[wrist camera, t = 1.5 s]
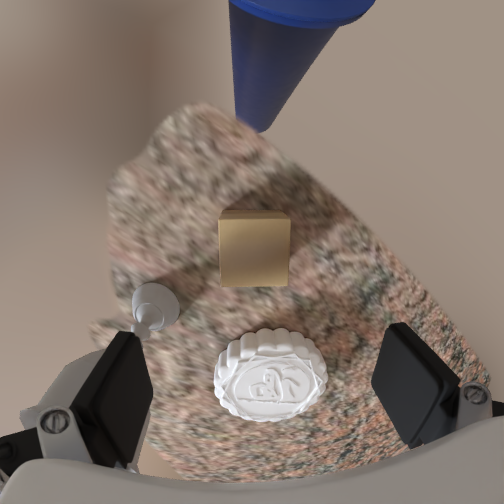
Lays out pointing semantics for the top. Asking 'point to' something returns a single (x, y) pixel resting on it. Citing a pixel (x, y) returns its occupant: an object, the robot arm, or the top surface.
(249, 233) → the block
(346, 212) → the top surface
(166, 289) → the chalice
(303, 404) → the mooncake
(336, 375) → the top surface
